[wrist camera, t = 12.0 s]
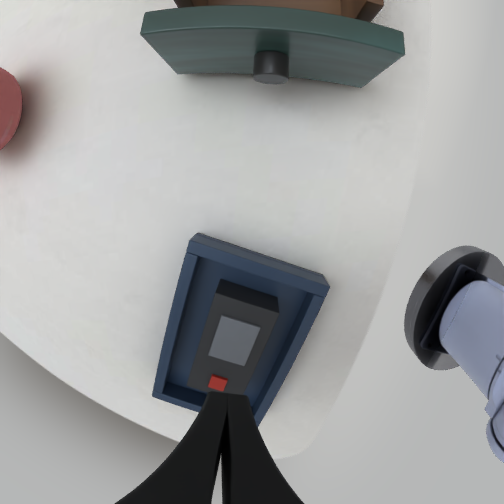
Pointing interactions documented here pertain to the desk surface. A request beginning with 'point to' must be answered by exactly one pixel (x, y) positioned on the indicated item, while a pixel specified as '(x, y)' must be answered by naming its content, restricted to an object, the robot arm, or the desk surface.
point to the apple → (9, 106)
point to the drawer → (275, 39)
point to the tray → (198, 305)
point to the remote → (233, 338)
